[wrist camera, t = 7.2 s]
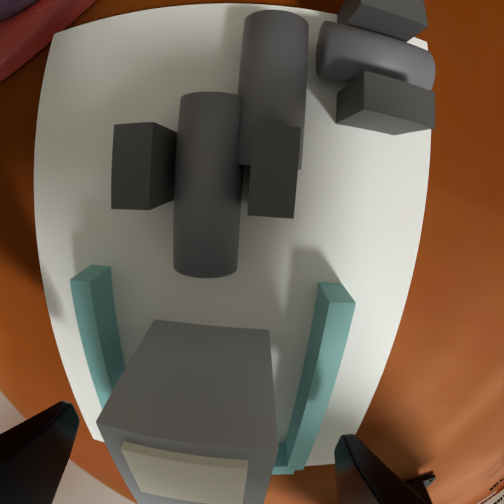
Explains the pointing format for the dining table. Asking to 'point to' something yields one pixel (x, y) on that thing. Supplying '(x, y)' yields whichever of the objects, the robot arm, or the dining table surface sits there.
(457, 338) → the dining table surface
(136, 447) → the block
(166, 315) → the board
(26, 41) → the stacking bear
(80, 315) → the end holder
